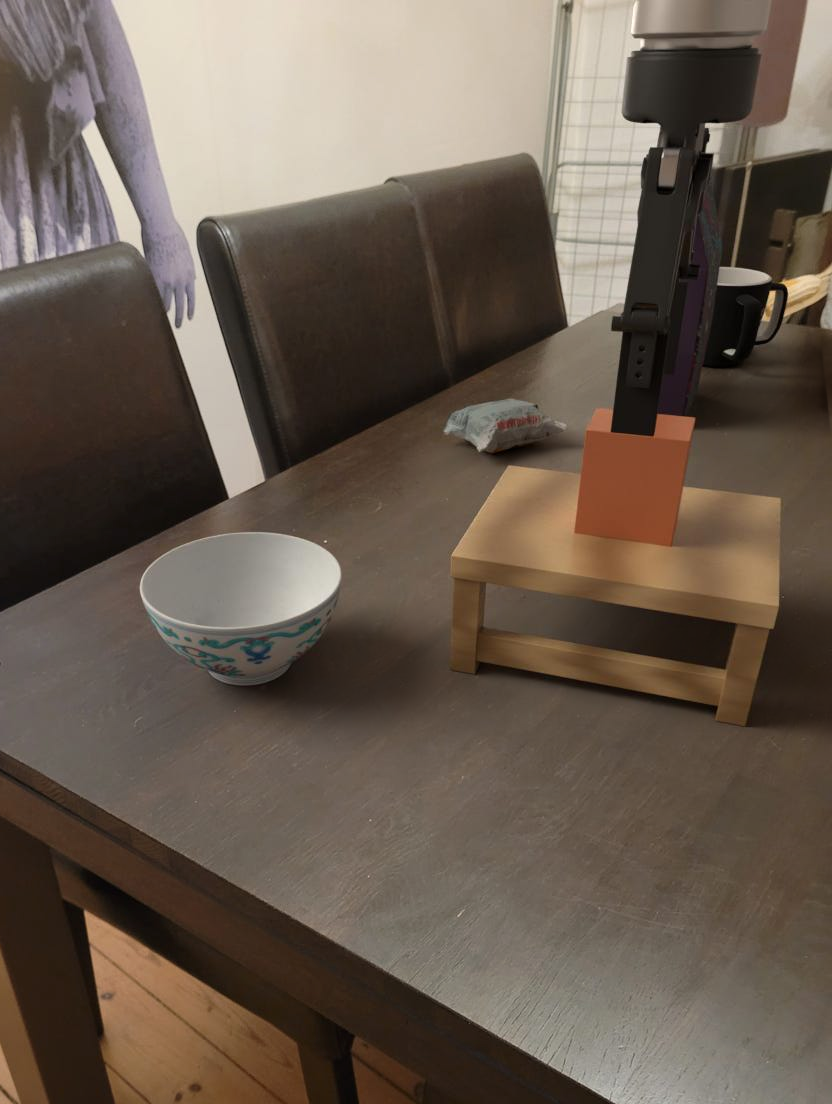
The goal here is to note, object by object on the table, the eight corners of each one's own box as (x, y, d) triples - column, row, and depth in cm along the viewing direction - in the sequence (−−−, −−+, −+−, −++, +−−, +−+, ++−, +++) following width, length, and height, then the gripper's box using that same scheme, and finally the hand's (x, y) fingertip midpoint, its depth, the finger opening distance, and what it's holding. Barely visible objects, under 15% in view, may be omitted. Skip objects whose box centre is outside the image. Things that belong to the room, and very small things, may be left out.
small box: (677, 518, 73) (695, 417, 69) (671, 546, 69) (689, 441, 65) (585, 506, 75) (597, 407, 71) (573, 533, 71) (585, 429, 67)
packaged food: (563, 448, 113) (567, 407, 110) (479, 467, 108) (481, 424, 106) (520, 426, 120) (523, 387, 117) (439, 444, 115) (440, 403, 113)
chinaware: (265, 595, 84) (259, 515, 80) (383, 663, 75) (383, 576, 71) (117, 660, 76) (101, 575, 72) (228, 746, 67) (218, 653, 62)
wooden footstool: (755, 606, 81) (781, 497, 76) (748, 728, 67) (779, 605, 62) (501, 567, 88) (508, 465, 83) (446, 670, 74) (451, 555, 69)
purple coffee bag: (615, 423, 120) (648, 176, 105) (638, 385, 132) (670, 160, 117) (683, 431, 117) (726, 178, 102) (700, 391, 129) (740, 162, 114)
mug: (739, 383, 132) (756, 293, 126) (634, 362, 142) (646, 277, 135) (787, 357, 142) (806, 272, 136) (687, 339, 152) (700, 259, 145)
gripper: (652, 41, 67) (615, 348, 78) (595, 51, 47) (557, 457, 59) (767, 38, 64) (712, 355, 76) (757, 47, 45) (685, 471, 56)
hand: (644, 400), depth 67 cm, fingers open, 13 cm apart
